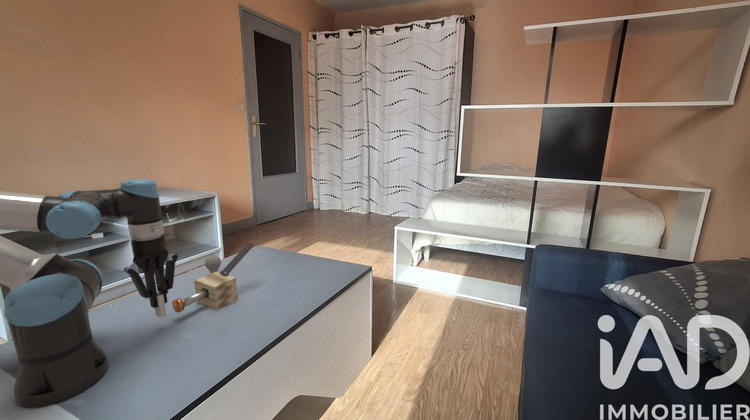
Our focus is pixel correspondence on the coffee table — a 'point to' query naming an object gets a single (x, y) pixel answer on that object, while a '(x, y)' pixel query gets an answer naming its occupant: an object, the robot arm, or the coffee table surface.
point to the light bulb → (213, 263)
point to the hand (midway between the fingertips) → (161, 315)
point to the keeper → (236, 259)
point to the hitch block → (217, 290)
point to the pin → (188, 300)
